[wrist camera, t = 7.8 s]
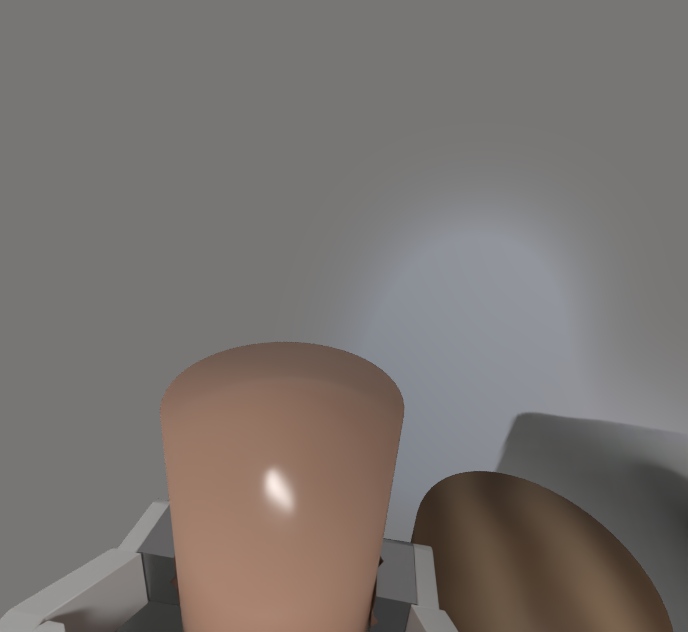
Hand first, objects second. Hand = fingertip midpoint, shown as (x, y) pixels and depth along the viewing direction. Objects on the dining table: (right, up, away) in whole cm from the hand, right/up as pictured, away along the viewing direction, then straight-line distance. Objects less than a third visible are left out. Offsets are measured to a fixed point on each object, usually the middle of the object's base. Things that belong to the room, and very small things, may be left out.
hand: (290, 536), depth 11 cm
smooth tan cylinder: (-1, -6, +1) cm, 7 cm away
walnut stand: (+13, -13, +15) cm, 24 cm away
